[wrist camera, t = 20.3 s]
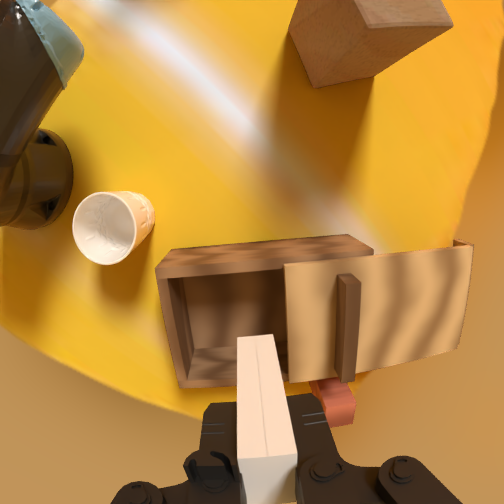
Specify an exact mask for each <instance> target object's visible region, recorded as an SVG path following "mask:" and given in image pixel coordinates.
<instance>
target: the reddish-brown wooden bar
mask: <svg viewBox="0 0 504 504" xmlns="http://www.w3.org/2000/svg"><path fill="white" fill-rule="evenodd" d="M309 384H310V387H311V390H312V393H313V395H314V396H315V397H317V398H318V399H319V400H320V401H321V404H322V407H323V410H324V414H325V416H326V419H327V422H328V425H329V428H332V427H337V426H343V425H348V424H352V423H353V419H354V413H355V408H356V401H355V399H354V397H353V395H352V393H351V390H350V388H349V386H348V384H347V383H341V382H340V380H339V378H338V377H332V378H326V379H319V380H312V381H309Z"/></svg>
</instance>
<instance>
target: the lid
mask: <svg viewBox="0 0 504 504" xmlns="http://www.w3.org/2000/svg"><path fill="white" fill-rule="evenodd" d="M473 250H474V244H471V243H468V242H466V241H463V240H460V239H454V240H453V247H446V248H437V249H428V250H419V251H410V252H400V253H390V254H381V255H371V256H361V257H351V258H341V259H330V260H320V261H309V262H299V263H288V264H284V283H285V303H286V326H287V352H288V379H289V383H297V382H305V381H312V380H319V379H326V378H332V377H338V378H339V380H340V382H341V383H347V382H352V381H355V373H360V372H365V371H370V370H375V369H380V368H384V367H389V366H393V365H398V364H402V363H406V362H410V361H414V360H418V359H422V358H426V357H430V356H433V355H437V354H441V353H444V352H447V351H451V350H454V349H457V347H458V344H459V341H460V337H461V332H462V327H463V322H464V317H465V311H466V306H467V300H468V293H469V287H470V279H471V271H472V261H473Z"/></svg>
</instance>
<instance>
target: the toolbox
mask: <svg viewBox="0 0 504 504" xmlns="http://www.w3.org/2000/svg"><path fill="white" fill-rule="evenodd" d="M373 254H374V249H372V248H371V247H369V246H367V245H366V244H364V243H362V242H360V241H359V240H357V239H355V238H354V237H352V236H350V235H348V234H344V235H332V236H319V237H307V238H295V239H283V240H271V241H260V242H248V243H237V244H225V245H214V246H203V247H192V248H181V249H171V251H170V252H169V253H168V254H167V255H166V256H165V257H164V259H163V260H162V261H161V262H160V263H159V264H158V265H157V267H156V268H155V273H156V279H157V284H158V290H159V296H160V301H161V306H162V311H163V317H164V321H165V326H166V331H167V336H168V340H169V345H170V350H171V354H172V358H173V363H174V367H175V371H176V375H177V379H178V383H179V387H180V388H206V387H226V386H237V337H247V336H259V335H269V334H273V337H274V342H275V347H276V351H277V356H278V361H279V366H280V371H281V376H282V380H283V382H284V381H289V379H288V352H287V326H286V303H285V283H284V264H288V263H299V262H309V261H320V260H330V259H341V258H351V257H361V256H371V255H373Z"/></svg>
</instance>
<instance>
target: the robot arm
mask: <svg viewBox="0 0 504 504" xmlns="http://www.w3.org/2000/svg"><path fill="white" fill-rule="evenodd" d="M83 57H84V48H83V45H82V43H81V41H80V40H79V38H78V37H77V36H76V34H75V33H74V32H73V31H72V30H71V29H70V28H69V27H68V26H67V25H66V23H65V22H64V21H63V20H62V19H61V18H60V17H59V16H57V15H56V14H55V13H54V12H53V11H52V10H51V9H50V8H49V7H47V6H45V5H44V4H43V3H42V2H41V1H39V0H0V227H1V226H4V225H8V226H12V227H16V228H20V229H25V230H31V229H37V228H40V227H43V226H46V225H48V224H50V223H51V222H53V221H54V220H55V219H56V218H57V217H58V216H59V215H60V214H61V213H62V211H63V210H64V208H65V206H66V204H67V202H68V199H69V197H70V193H71V189H72V183H73V165H72V160H71V156H70V153H69V150H68V148H67V146H66V144H65V143H64V141H63V140H62V139H61V138H60V137H59V136H58V135H57V134H55V133H54V132H52V131H50V130H46V129H40V128H38V127H39V125H40V123H41V122H42V120H43V118H44V117H45V115H46V114H47V112H48V111H49V109H50V107H51V106H52V104H53V103H54V101H55V100H56V99H57V97H58V96H59V94H60V93H61V91H62V90H65V88H66V87H67V82H68V81H69V79H70V78H71V76H72V75H73V73H74V72H75V71H76V69H77V68H78V66H79V65H80V64H81V62H82V60H83ZM183 467H184V470H185V472H186V474H187V477H188V480H187V481H185V482H183V483H181V484H178V485H175V486H170V487H164V488H159V489H158V488H157V487H156V486H155V485H153V484H151V483H149V482H142V481H137V482H131V483H129V484H127V485H125V486H123V487H122V488H121V489H120V490H119V491H118V493H117V494H116V496H115V497H114V499H113V500H112V502H111V504H282V503H290V502H296V501H297V504H462V503H461V502H460V501H459V500H458V499H457V498H456V497H455V496H454V495H453V494H452V493H451V492H450V491H449V490H448V489H447V488H446V487H445V486H444V485H443V484H442V483H441V482H440V481H439V480H438V479H437V478H436V477H435V476H434V475H433V474H432V473H431V472H430V471H429V470H428V469H427V468H426V467H425V466H424V465H423V464H422V463H421V462H420V461H418V460H417V459H415V458H412V457H409V456H396V457H393V458H390V459H388V460H387V461H386V462H384V463H383V464H382V466H381V467H360V466H355V465H352V464H349V463H347V462H346V461H344V460H343V459H342V458H341V457H340V455H339V453H338V451H337V448H336V445H335V442H334V440H333V437H332V433H331V430H330V428H329V425H328V422H327V419H326V416H325V414H324V410H323V407H322V404H321V401H320V400H319V399H318V398H317V397H315V396H314V395H313V394H312V393H308V394H301V395H293V396H286V395H285V390H284V385H283V380H282V376H281V371H280V366H279V361H278V356H277V351H276V347H275V342H274V337H273V334H269V335H259V336H247V337H237V402H223V403H210V405H209V406H208V408H207V409H206V410H205V412H204V414H203V422H202V431H201V439H200V447H199V450H198V451H195V452H193V453H192V454H191V455H189V456H188V457H187V458H186V460H185V462H184V465H183Z"/></svg>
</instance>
